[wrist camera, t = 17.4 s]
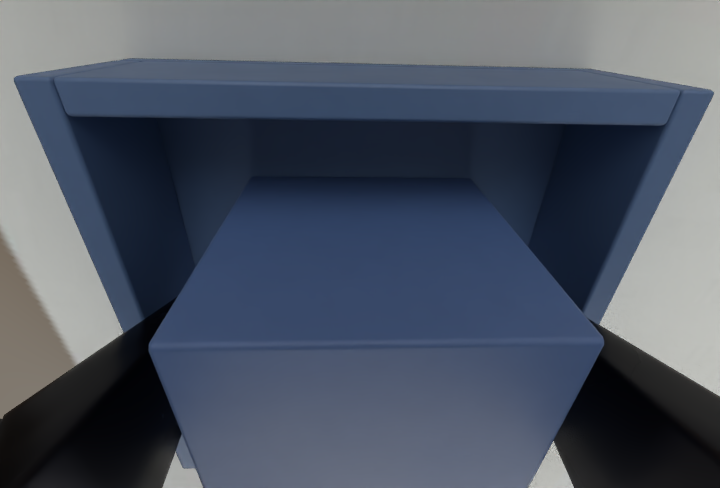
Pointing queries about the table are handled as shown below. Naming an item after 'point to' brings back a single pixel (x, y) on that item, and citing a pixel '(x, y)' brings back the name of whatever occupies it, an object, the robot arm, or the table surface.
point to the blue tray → (354, 155)
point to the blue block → (370, 341)
